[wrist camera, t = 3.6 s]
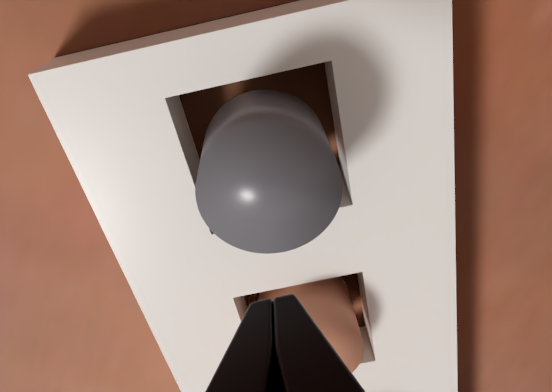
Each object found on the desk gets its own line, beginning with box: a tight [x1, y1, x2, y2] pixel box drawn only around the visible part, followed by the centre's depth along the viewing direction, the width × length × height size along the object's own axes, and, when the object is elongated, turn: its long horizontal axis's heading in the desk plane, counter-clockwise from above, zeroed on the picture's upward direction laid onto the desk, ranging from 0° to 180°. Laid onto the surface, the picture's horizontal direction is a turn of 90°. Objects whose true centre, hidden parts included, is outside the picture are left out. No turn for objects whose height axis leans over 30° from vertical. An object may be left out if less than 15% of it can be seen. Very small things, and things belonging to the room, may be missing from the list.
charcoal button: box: [195, 89, 343, 254], centre depth 14 cm, size 4×4×3 cm
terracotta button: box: [258, 276, 364, 373], centre depth 19 cm, size 4×4×3 cm
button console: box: [28, 0, 458, 392], centre depth 20 cm, size 12×24×2 cm, turn 12°
